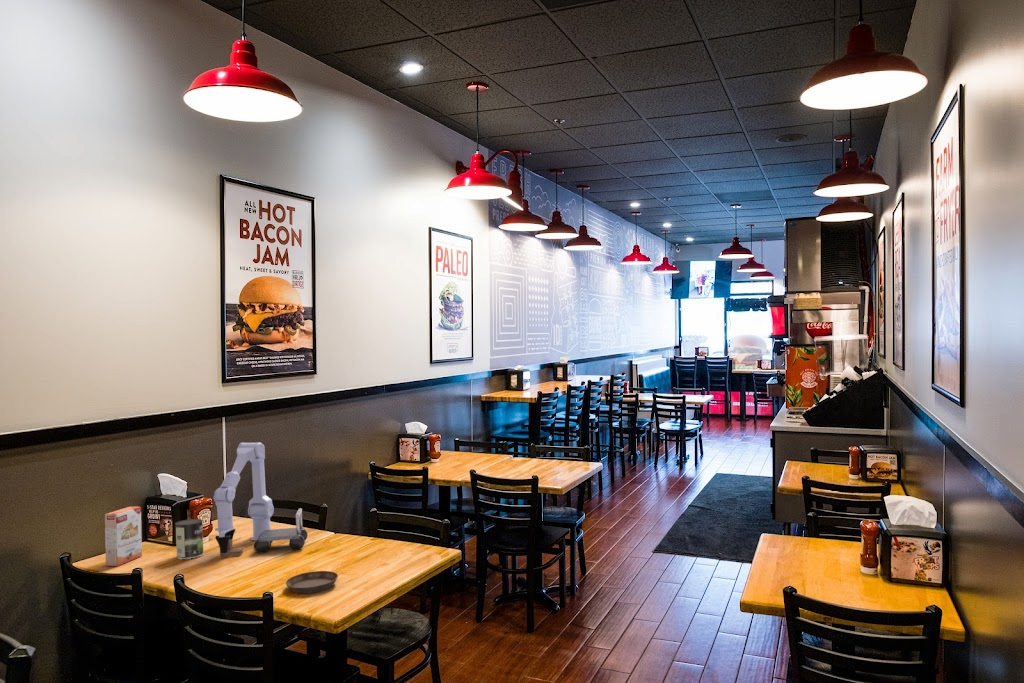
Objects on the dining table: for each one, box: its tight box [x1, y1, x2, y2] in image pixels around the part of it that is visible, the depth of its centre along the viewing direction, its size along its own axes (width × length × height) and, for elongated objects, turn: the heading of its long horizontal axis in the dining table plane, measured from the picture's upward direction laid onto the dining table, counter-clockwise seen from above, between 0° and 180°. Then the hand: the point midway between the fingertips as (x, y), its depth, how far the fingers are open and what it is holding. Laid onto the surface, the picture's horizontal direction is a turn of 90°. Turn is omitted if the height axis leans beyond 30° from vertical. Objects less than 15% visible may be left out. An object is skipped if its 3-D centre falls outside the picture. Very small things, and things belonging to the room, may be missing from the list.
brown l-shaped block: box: [219, 539, 244, 558], centre depth 293 cm, size 4×8×6 cm, turn 100°
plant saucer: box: [285, 570, 339, 594], centre depth 250 cm, size 18×18×3 cm
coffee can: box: [174, 518, 205, 560], centre depth 294 cm, size 10×10×14 cm
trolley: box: [253, 507, 308, 554], centre depth 302 cm, size 13×20×15 cm, turn 100°
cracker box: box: [104, 506, 143, 567], centre depth 290 cm, size 14×6×21 cm, turn 168°
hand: (226, 550), depth 293 cm, fingers open, 7 cm apart
